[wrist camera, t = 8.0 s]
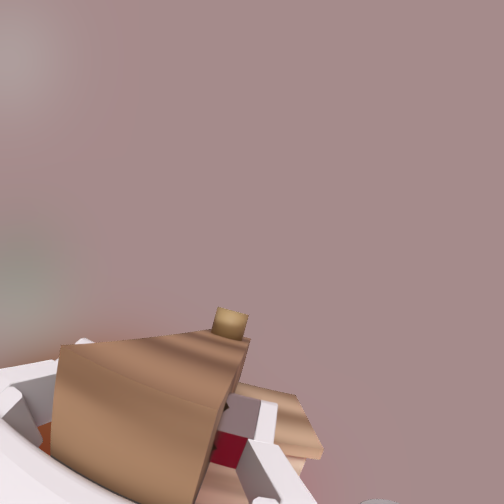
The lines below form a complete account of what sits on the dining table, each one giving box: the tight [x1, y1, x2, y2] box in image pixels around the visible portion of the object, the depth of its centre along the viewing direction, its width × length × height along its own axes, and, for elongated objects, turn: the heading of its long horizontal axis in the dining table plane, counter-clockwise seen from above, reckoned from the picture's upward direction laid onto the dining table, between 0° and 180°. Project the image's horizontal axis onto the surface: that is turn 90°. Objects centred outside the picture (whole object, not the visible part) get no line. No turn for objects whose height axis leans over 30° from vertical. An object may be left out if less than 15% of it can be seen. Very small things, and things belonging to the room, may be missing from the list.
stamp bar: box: [51, 307, 251, 504], centre depth 15 cm, size 22×4×6 cm, turn 179°
